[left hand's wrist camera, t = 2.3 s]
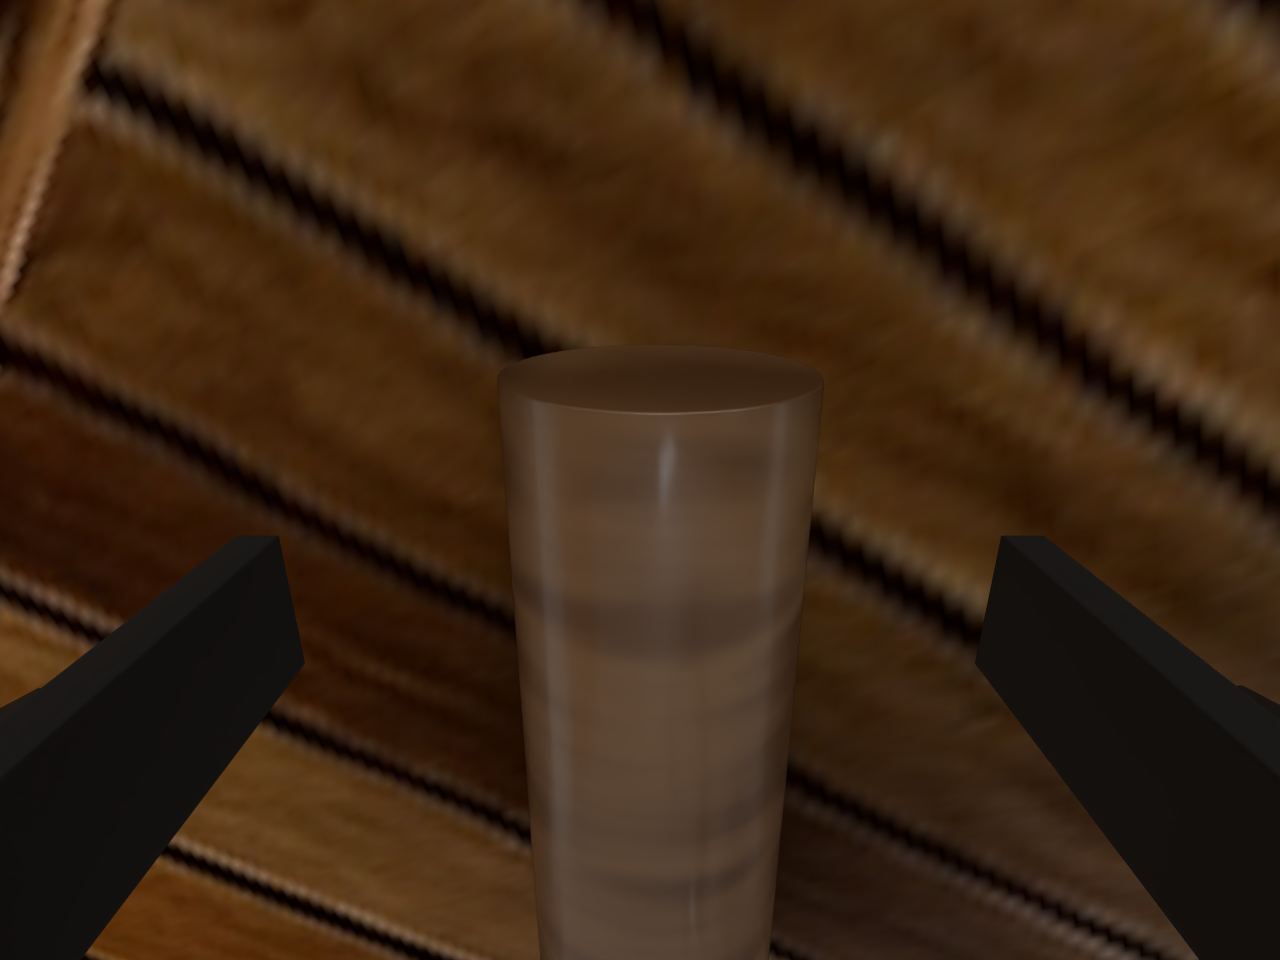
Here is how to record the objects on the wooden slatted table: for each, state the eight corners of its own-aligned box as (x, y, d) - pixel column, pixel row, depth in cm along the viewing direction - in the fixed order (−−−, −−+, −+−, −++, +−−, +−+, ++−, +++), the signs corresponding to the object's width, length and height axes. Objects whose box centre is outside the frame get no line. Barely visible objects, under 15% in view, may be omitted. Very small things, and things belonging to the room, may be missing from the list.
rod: (527, 344, 20) (458, 411, 13) (789, 344, 20) (867, 413, 13) (560, 921, 28) (529, 1156, 21) (745, 923, 28) (777, 1161, 21)
